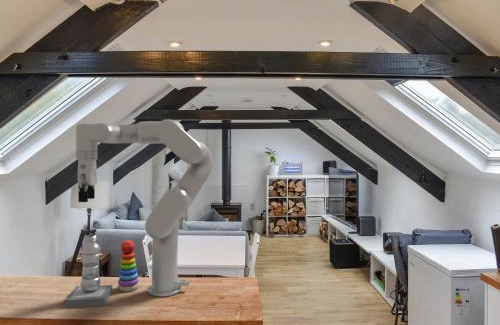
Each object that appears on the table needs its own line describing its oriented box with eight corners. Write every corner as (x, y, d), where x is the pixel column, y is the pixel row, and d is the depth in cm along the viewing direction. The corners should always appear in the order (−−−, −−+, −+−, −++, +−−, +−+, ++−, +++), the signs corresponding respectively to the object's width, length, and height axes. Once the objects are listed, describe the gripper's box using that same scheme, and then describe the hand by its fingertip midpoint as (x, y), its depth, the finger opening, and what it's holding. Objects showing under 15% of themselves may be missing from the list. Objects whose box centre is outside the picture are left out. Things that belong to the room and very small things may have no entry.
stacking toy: (141, 284, 149) (141, 238, 149) (135, 292, 141) (136, 243, 141) (121, 284, 149) (121, 238, 148) (114, 292, 141) (115, 243, 141)
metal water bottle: (77, 290, 136) (77, 235, 135) (96, 285, 140) (96, 232, 140) (84, 295, 131) (85, 238, 130) (103, 290, 136) (103, 235, 135)
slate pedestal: (112, 291, 142) (112, 284, 142) (104, 305, 129) (104, 297, 129) (76, 292, 140) (76, 285, 140) (64, 307, 127) (64, 299, 127)
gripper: (91, 156, 135) (91, 203, 136) (102, 155, 152) (102, 197, 153) (69, 156, 134) (69, 203, 135) (83, 155, 151) (82, 197, 152)
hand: (86, 200), depth 144 cm, fingers open, 9 cm apart
